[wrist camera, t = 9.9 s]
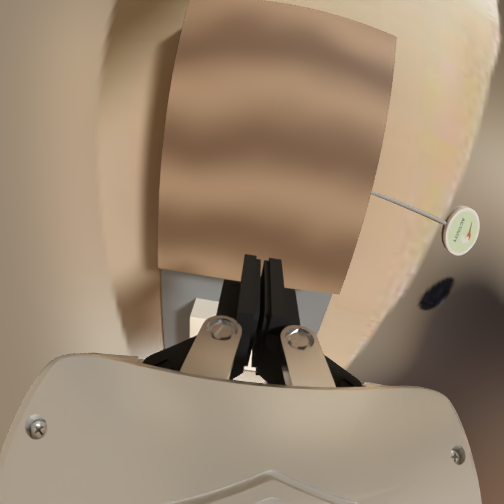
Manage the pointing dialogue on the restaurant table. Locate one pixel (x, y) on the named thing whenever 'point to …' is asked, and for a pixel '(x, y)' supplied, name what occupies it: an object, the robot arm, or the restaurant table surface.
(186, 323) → the mat
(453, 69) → the restaurant table surface
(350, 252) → the board
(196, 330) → the cream rectangular block
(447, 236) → the sign
